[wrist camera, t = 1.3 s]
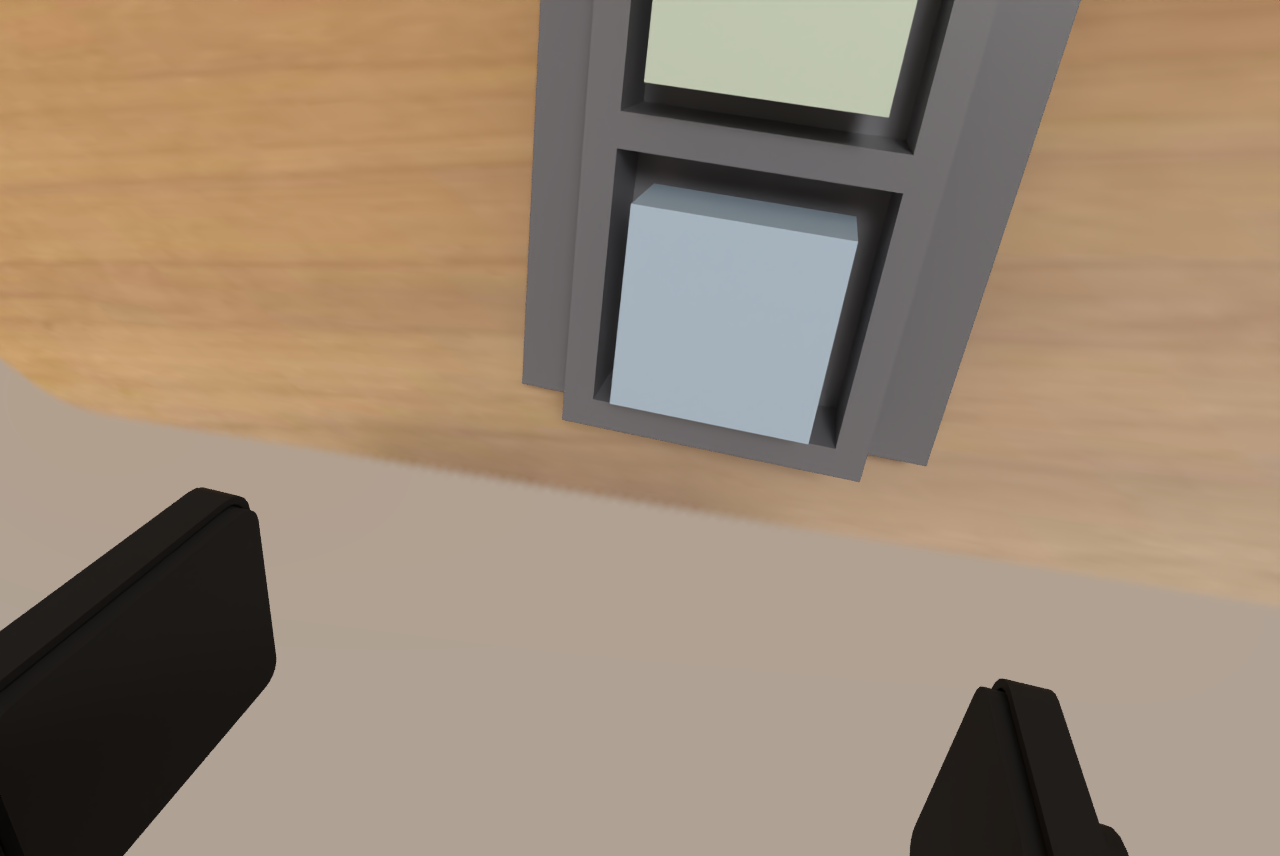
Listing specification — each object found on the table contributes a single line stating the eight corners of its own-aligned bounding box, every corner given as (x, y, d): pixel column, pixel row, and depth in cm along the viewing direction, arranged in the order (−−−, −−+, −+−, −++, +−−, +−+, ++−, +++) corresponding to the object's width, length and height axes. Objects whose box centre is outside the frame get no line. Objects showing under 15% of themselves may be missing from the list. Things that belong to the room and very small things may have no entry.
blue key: (856, 216, 23) (857, 241, 20) (811, 401, 26) (808, 444, 23) (654, 183, 24) (630, 203, 21) (632, 366, 27) (609, 403, 24)
